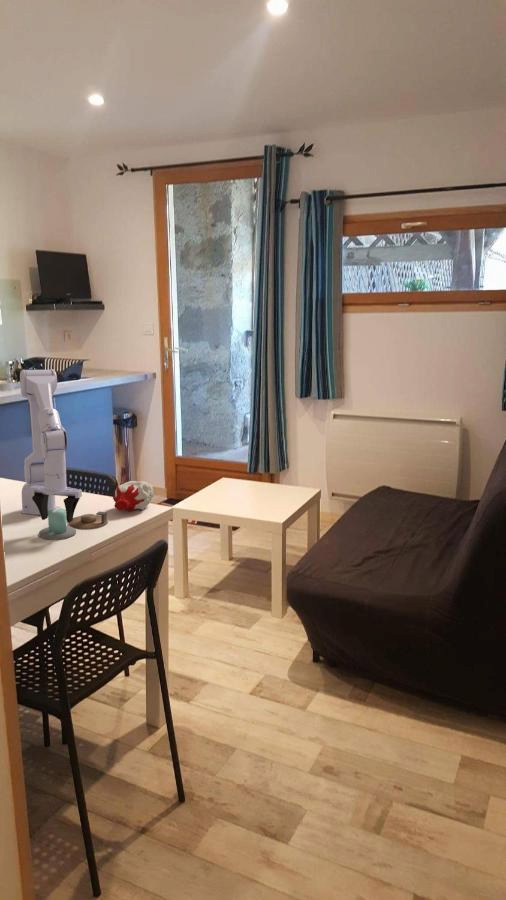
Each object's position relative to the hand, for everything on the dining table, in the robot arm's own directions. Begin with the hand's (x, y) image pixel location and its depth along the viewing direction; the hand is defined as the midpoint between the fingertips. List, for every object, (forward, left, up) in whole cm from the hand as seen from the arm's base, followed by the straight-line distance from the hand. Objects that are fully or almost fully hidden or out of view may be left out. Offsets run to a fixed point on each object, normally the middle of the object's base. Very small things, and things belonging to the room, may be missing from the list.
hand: (57, 520), depth 183 cm
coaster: (0, 0, -4) cm, 4 cm away
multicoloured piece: (+11, +26, -4) cm, 29 cm away
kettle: (0, 0, -3) cm, 3 cm away
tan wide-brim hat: (+4, +11, -4) cm, 12 cm away
